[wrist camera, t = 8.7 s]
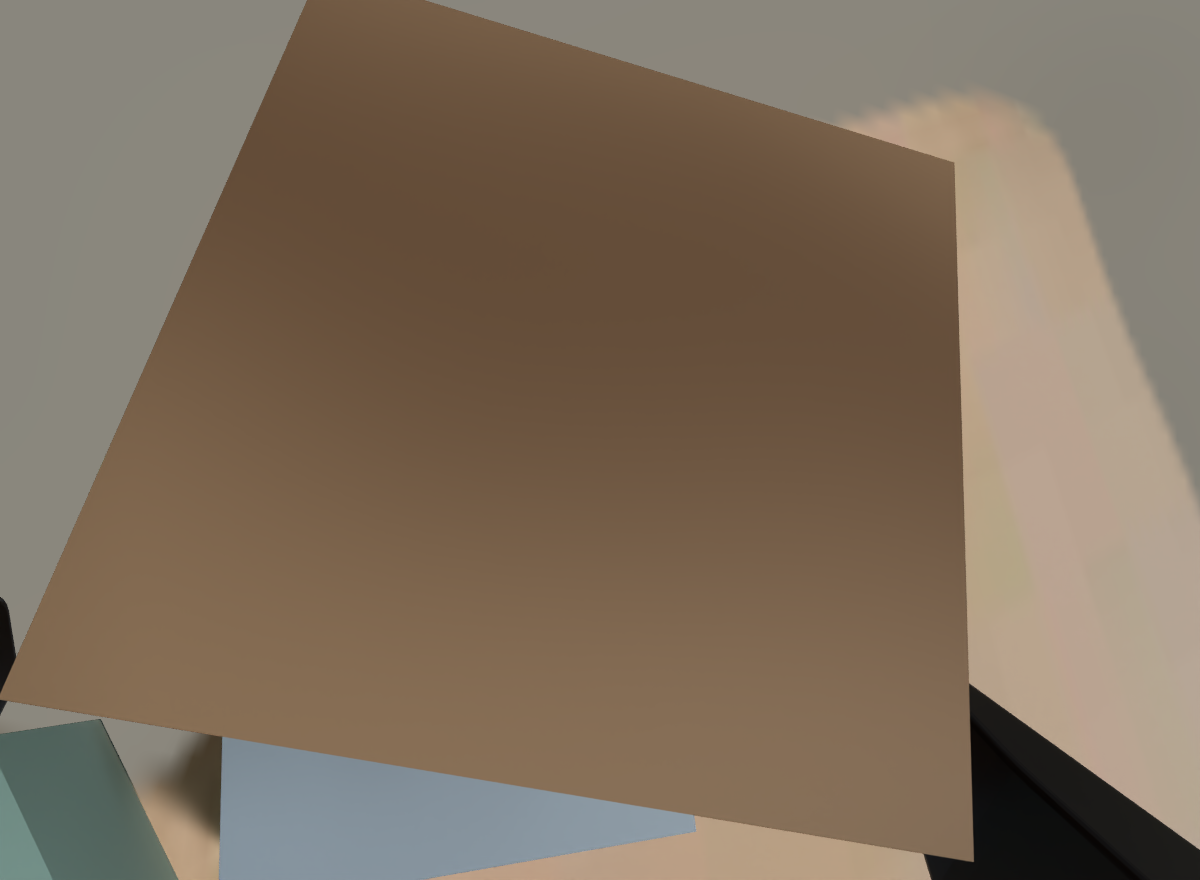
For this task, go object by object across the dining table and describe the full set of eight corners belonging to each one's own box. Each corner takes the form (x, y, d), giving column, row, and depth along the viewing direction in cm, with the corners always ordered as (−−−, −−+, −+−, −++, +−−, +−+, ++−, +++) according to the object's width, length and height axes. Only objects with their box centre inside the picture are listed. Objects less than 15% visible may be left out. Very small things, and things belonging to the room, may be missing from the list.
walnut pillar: (557, 769, 15) (974, 862, 4) (326, 729, 15) (-4, 699, 3) (594, 549, 17) (953, 162, 6) (389, 505, 16) (322, -30, 5)
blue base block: (642, 802, 20) (696, 831, 16) (259, 864, 17) (217, 915, 14) (603, 460, 22) (642, 415, 18) (264, 476, 20) (229, 429, 16)
